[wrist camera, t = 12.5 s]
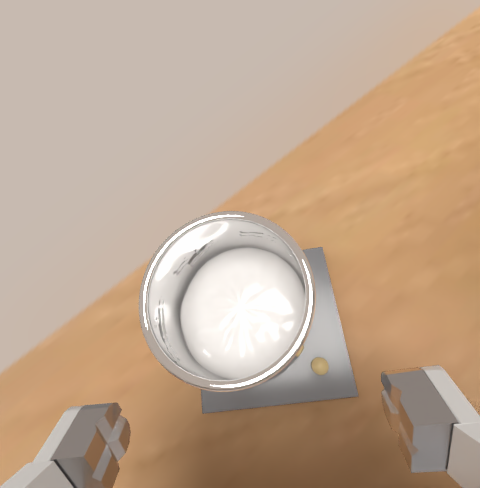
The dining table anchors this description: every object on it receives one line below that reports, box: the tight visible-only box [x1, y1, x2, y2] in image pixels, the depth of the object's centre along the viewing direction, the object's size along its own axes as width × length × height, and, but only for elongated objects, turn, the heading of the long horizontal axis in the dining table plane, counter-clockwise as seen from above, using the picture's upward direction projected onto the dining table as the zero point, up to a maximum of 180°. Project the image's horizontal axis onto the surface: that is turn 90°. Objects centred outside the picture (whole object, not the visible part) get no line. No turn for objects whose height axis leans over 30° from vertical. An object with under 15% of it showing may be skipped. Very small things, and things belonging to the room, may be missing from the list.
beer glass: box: [139, 211, 316, 392], centre depth 17 cm, size 7×7×15 cm
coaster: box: [201, 247, 358, 413], centre depth 24 cm, size 12×12×2 cm
